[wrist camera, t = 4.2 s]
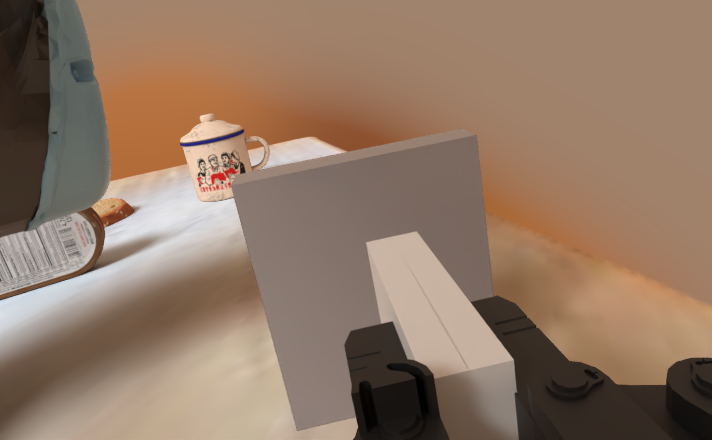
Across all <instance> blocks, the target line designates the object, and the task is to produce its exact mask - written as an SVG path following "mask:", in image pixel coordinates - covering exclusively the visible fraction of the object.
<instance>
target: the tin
mask: <svg viewBox="0 0 712 440" xmlns="http://www.w3.org/2000/svg"><path fill="white" fill-rule="evenodd" d="M104 239H105V230H104V225H103V222H102V220H101V218H100V216H99V215H98V214H97V212H96V211H95V210H94V209H93V208H92V207H89V208H88V209H85V210H82V211H79V212H76V213H73V214H70V215H67V216H64V217H61V218H58V219H55V220H52V221H49V222H46V223H43V224H41V226H40V227H38V228H37V229H35V230H31V231H28V232H19V233H15V234H11V235H7V236H4V237H0V300H1V299H4V298H7V297H11V296H14V295H17V294H20V293H24V292H27V291H30V290H33V289H37V288H40V287H43V286H47V285H50V284H53V283H57V282H60V281H63V280H67V279H70V278H73V277H76V276H79V275H81V274H83V273H84V272H86V271H87V270H89V269H90V268H91V267H92V266H93V265H94V264H95V263H96V262H97V260H98V259H99V257H100V255H101V253H102V250H103V245H104Z"/></svg>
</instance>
